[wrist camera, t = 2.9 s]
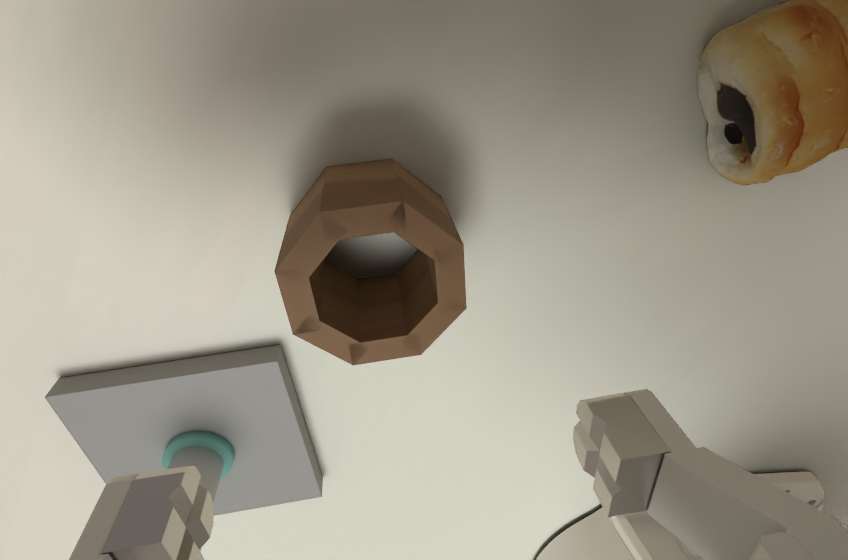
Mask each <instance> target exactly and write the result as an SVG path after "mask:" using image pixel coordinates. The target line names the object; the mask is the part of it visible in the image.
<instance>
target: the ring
mask: <svg viewBox="0 0 848 560" xmlns="http://www.w3.org/2000/svg"><path fill="white" fill-rule="evenodd" d="M390 232H394V233H396V234H397V235H399V236H400V237H402V238H403V239H405V240H406V241H407V242H409V243H410V244H412V245H413V246H415V247H416V248H418V249H419V250H418V251H417V252H416V253H415V254H414V255H413V256H412V258H411V259H410V260H409V261H408V262H407V263H406V264H405V266H404V267H403V268H402V269H401V270H400V271H399V272H398V273H397V274H395V275H388V276H381V277H374V278H367V279H360V280H358V279H356V278H354V277H353V276H351V275H350V274H348V273H346V272H345V271H343V270H341V269H340V268H338V267H336V266H335V265H333V264H332V263H330V262H328V261H327V260H325V257H326V256H327V254H328V253H329V252H330V251H331V249H332V248H333V247H334V246H335V244H336V243H337V242H338V241H339V239H346V238H354V237H361V236H368V235H376V234H383V233H390ZM275 274H276V278H277V281H278V284H279V288H280V291H281V295H282V298H283V301H284V305H285V308H286V312H287V315H288V318H289V322H290V325H291V329H292V332H293V335H295V336H297V337H299V338H301V339H303V340H305V341H307V342H309V343H311V344H313V345H315V346H317V347H319V348H321V349H323V350H325V351H327V352H329V353H330V354H332V355H334V356H336V357H338V358H340V359H342V360H344V361H346V362H348V363H350V364H352V365H358V364H364V363H371V362H377V361H383V360H390V359H396V358H403V357H409V356H415V355H421V354H422V353H423V352H424V351H425V350H426V349H427V348H428V347H429V346H430V345H431V344H432V343H433V342H434V341H435V340H436V339H437V338H438V337H439V336H440V335H441V334H442V333H443V332H444V331H445V330H446V329H447V327H448V326H449V325H450V324H451V323H452V322H453V321H454V320H455V319H456V318H457V317H458V316H459V315H460V314H461V313H462V312H463V311H464V310H465V309H466V291H465V270H464V249H463V243H462V241H461V239H460V236H459V234H458V232H457V230H456V228H455V226H454V223H453V221H452V219H451V217H450V215H449V213H448V210H447V208H446V206H445V204H444V202H443V200H442V198H441V196H440V195H438V194H437V193H436V192H434V191H433V190H432V189H430V188H429V187H428V186H427V185H425V184H424V183H423V182H421V181H420V180H419V179H417V178H416V177H415V176H414V175H412V174H411V173H410V172H408V171H407V170H406V169H405V168H403V167H402V166H401V165H399V164H398V163H397V162H395V161H394V160H393V159H386V160H379V161H371V162H363V163H355V164H347V165H339V166H331V167H326V168H325V169H324V171H323V172H322V173H321V175H320V176H319V177H318V179H317V180H316V182H315V183H314V184H313V186H312V187H311V188H310V190H309V191H308V192H307V194H306V195H305V197H304V198H303V199H302V201H301V202H300V203H299V205H298V206H297V207H296V209H295V210H294V212H293V213H292V214H291V216H290V217H289V221H288V224H287V228H286V232H285V235H284V239H283V242H282V246H281V250H280V253H279V257H278V261H277V264H276V268H275Z"/></svg>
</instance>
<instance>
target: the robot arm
mask: <svg viewBox="0 0 848 560" xmlns="http://www.w3.org/2000/svg"><path fill="white" fill-rule="evenodd" d="M576 413H577V415H578V417H579V419H580V421H579V422H578V424H577V425H576V426H575V427H574V435H573V440H574V446H575V451H576V454H577V457H578V460H579V462H580V464H581V466H582V468H583V470H584V471H586V472H587V473H589V474H590V475H592V476H593V477H595V480H594V486H593V489H594V491H595V493H596V495H597V497H598V499H599V501H600V503H601V505H602V508H600V509H599V510H597V511H596V512H594V513H593V514H591V515H589V516H588V517H586V518H584V519H582V520H581V521H579V522H577V523H575V524H574V525H572V526H571V527H569V528H568V529H566V530H565V531H563V532H562V533H561V534H559V535H558V536H557V537H556V538H554V539H553V540H552V541H551V542H550V543H549V544H548V545H547V546H546V547H545V548H544V549H543V551H542V552H541V553H540V554H539V556H538V557H537V559H536V560H848V531H847V530H846V529H845V528H844V527H843V525H842V524H841V523H840V522H839V521H838V520H837V519H835V518H833V517H832V516H830V515H828V514H826V513H824V512H822V510H823V506H824V499H825V498H824V490H823V487H822V485H821V484H820V482H819V481H818V480H817V478H816V477H815V476H814V475H813V474H812V473H811V472H784V473H766V474H752V473H750V472H748V471H747V470H745V469H743V468H741V467H739V466H737V465H736V464H734V463H732V462H730V461H728V460H726V459H724V458H723V457H721V456H719V455H717V454H715V453H713V452H712V451H710V450H708V449H706V448H704V447H700V448H696V447H695V446H694V444H693V443H692V442H691V441H690V439H689V438H688V437H687V436H686V434H685V433H684V432H683V431H682V429H681V428H680V427H679V426H678V424H677V423H676V422H675V421H674V419H673V418H672V417H671V416H670V414H669V413H668V412H667V411H666V409H665V408H664V407H663V406H662V404H661V403H660V402H659V401H658V399H657V398H656V397H655V396H654V394H653V393H652V392H651V391H649V390H647V389H645V390H639V391H633V392H627V393H619V394H613V395H608V396H602V397H597V398H591V399H585V400H580V402H579V403H578V405H577V411H576ZM200 478H201V475H200V473H199V471H198V470H197V468H196V466H186V467H179V468H172V469H164V470H157V471H150V472H143V473H137V474H131V475H124V476H117V477H113V478H112V479H111V480H110V481H109V482H108V483H107V484H106V486H105V488H104V490H103V492H102V494H101V496H100V498H99V500H98V502H97V504H96V506H95V508H94V510H93V512H92V514H91V516H90V518H89V520H88V522H87V524H86V526H85V528H84V530H83V532H82V534H81V536H80V538H79V540H78V542H77V544H76V547H75V549H74V551H73V553H72V555H71V557H70V559H69V560H204V558H203V556H202V554H201V552H200V548H201V547H202V546H203V545H204V544H205V543H206V541H207V540H208V539H209V538H210V535H211V531H212V527H213V517H214V506H213V502H212V497H211V495H210V493H209V491H208V489H206V488H204V487H202V486H200V485H199V481H200Z"/></svg>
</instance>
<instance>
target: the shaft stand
mask: <svg viewBox="0 0 848 560" xmlns="http://www.w3.org/2000/svg"><path fill="white" fill-rule="evenodd" d="M45 398H46V400H47V401H48V403H49V404H50V405H51V407H52V408H53V410H54V411H55V412H56V414H57V415H58V417H59V418H60V420H61V421H62V422H63V424H64V425H65V427H66V428H67V429H68V431H69V432H70V434H71V435H72V437H73V438H74V439H75V441H76V442H77V444H78V445H79V446H80V448H81V449H82V451H83V452H84V453H85V455H86V456H87V458H88V459H89V461H90V462H91V463H92V465H93V466H94V468H95V469H96V470H97V472H98V473H99V475H100V476H101V478H102V479H103V480H104V482H105V483H106V484H107V483H108V482H109V481H110V480H111V479H112V478H113V477H117V476H124V475H131V474H137V473H143V472H150V471H157V470H164V469H172V468H179V467H186V466H196V468H197V470H198V471H199V473H200V475H201V478H200V481H199V485H200V486H202V487H204V488H206V489H208V491H209V493H210V495H211V497H212V502H213V506H214V516H215V515H220V514H226V513H232V512H237V511H243V510H249V509H254V508H260V507H266V506H271V505H277V504H283V503H288V502H294V501H300V500H306V499H311V498H317V497H322V481H323V477H322V474H321V471H320V468H319V465H318V462H317V459H316V455H315V452H314V449H313V446H312V443H311V440H310V436H309V433H308V430H307V427H306V424H305V421H304V417H303V414H302V411H301V408H300V405H299V402H298V398H297V395H296V392H295V389H294V386H293V383H292V379H291V376H290V373H289V370H288V367H287V364H286V360H285V357H284V354H283V351H282V348H281V345H275V346H268V347H262V348H255V349H249V350H242V351H235V352H229V353H222V354H216V355H209V356H202V357H196V358H189V359H183V360H176V361H170V362H163V363H156V364H150V365H143V366H137V367H130V368H124V369H117V370H110V371H104V372H97V373H91V374H84V375H77V376H71V377H64V378H59V379H58V381H57V382H56V383H55V385H54V386H53V387H52V388H51V390H50V391H49V392H48V394H47V395H46V396H45ZM200 551H201V548H200Z"/></svg>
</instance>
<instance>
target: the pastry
mask: <svg viewBox="0 0 848 560" xmlns="http://www.w3.org/2000/svg"><path fill="white" fill-rule="evenodd" d="M700 59H701V63H702V64H701V67H700V69H699V71H698V74H697V82H698V97H699V99H700V101H701V105H702V110H703V113H704V115H705V118H706V120H707V122H708V125H709V127H708V134H707V151H708V158H709V161H710V163H711V165H712V166H713V167H714V168H715V170H716V171H717V172H718V173H719V174H720V175H721V176H723V177H724V178H726V179H728V180H730V181H732V182H734V183H737V184H740V185H750V184H753V183H765V182H768V181H770V180H772V179H773V178H774V177H775V176H778V175H782V174H788V173H793V172H797V171H800V170H803V169H804V168H806V167H808V166H810V165H812V164H814V163H816V162H818V161H820V160H821V159H823V158H824V157H826V156H827V155H828V154H830V153H832V152H835V151H838V150H840V149H844V148H848V0H789V1H787V2H784V3H782V4H777V5H773V6H771V7H769V8H766V9H762V10H760V11H758V12H757V13H755V14H753V15H751V16H749V17H747V18H746V19H744V20H742V21H740V22H738V23H735V24H733V25H732V26H727V27H726V28H724V29H723V30H721V31H720V32H718V33H717V34H716V35H714V36H713V37H712V39H711V40H710V42H709V43H708V45H707V46H706V47H705V48H704V50H703V52H702V53H701V57H700Z"/></svg>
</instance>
